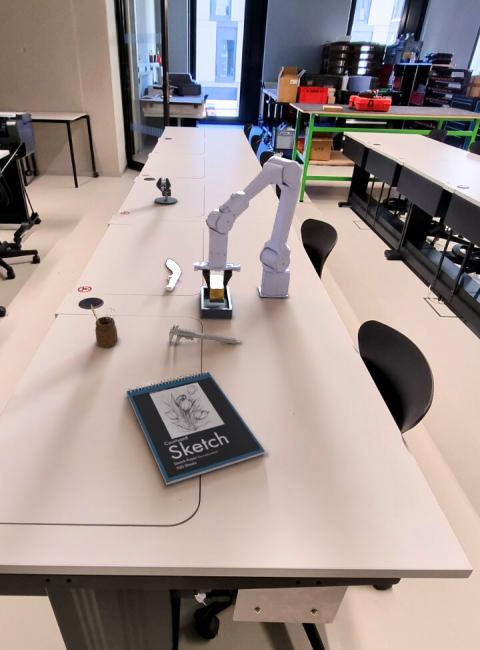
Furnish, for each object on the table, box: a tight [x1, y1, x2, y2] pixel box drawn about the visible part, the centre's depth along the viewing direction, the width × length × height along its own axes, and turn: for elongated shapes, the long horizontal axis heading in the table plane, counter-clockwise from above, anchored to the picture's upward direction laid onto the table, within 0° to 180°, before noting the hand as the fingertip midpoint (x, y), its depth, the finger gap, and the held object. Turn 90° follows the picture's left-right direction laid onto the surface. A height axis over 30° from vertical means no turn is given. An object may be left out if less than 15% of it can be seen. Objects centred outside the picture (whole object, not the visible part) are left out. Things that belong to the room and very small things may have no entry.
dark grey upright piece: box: [154, 176, 178, 206], centre depth 242 cm, size 13×20×13 cm, turn 1°
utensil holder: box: [90, 304, 119, 348], centre depth 122 cm, size 6×6×12 cm
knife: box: [163, 258, 182, 292], centre depth 165 cm, size 30×2×8 cm
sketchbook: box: [126, 370, 266, 486], centre depth 98 cm, size 22×30×2 cm
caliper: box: [168, 324, 241, 345], centre depth 125 cm, size 20×1×6 cm, turn 94°
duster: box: [209, 274, 224, 303], centre depth 142 cm, size 5×11×5 cm, turn 2°
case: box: [200, 285, 233, 320], centre depth 144 cm, size 10×17×3 cm, turn 2°
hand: (216, 291), depth 142 cm, fingers closed on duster, 4 cm apart
